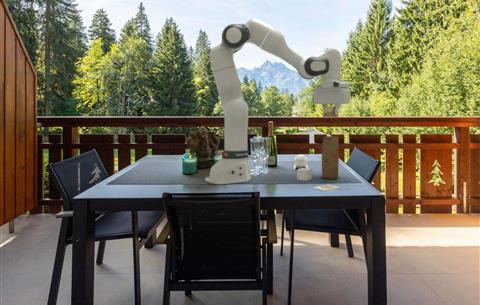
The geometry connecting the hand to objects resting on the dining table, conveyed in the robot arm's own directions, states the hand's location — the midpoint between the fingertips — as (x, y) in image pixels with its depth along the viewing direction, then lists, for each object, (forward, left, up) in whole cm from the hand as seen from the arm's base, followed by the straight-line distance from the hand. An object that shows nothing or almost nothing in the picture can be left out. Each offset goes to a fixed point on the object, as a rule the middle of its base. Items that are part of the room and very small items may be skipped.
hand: (330, 113), depth 180 cm
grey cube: (-13, +4, -31) cm, 34 cm away
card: (-18, -15, -31) cm, 39 cm away
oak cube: (0, 0, -2) cm, 2 cm away
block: (0, 0, -31) cm, 31 cm away
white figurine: (+5, +26, -31) cm, 41 cm away
